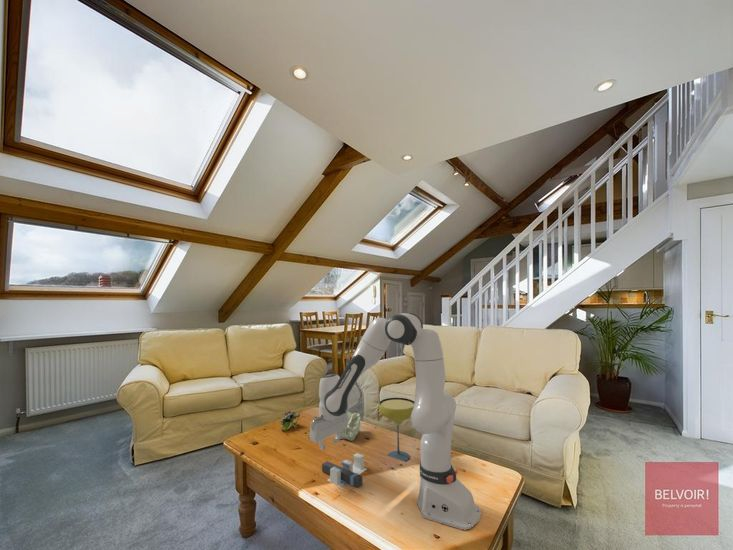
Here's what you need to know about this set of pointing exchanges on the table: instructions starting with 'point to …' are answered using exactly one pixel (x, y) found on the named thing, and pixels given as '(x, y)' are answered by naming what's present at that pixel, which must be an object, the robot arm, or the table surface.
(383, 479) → the table surface
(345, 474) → the long dark grey plank
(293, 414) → the passion flower
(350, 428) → the folded clay sculpture
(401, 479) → the table surface
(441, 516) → the robot arm
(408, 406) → the cocktail glass
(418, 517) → the table surface
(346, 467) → the grey and blue pillars
